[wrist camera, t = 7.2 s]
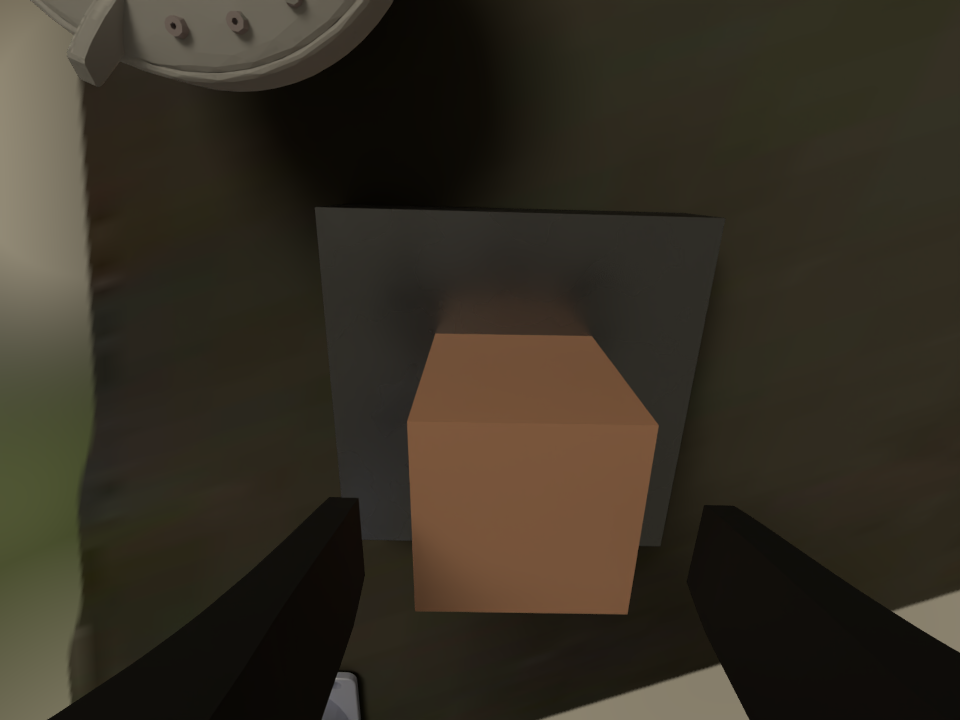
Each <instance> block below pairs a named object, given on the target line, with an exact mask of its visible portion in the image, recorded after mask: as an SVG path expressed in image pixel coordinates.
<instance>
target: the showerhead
mask: <svg viewBox="0 0 960 720" xmlns="http://www.w3.org/2000/svg"><path fill="white" fill-rule="evenodd" d="M31 1H32V2H33V3H34V4H35V5H37V6H38V7H39V8H40V9H41V10H42V11H43V12H45V13H46V14H47V15H48V16H49V17H51V18H52V19H53V20H54V21H56V22H57V23H58V24H60V25H61V26H62V27H64V28H65V29H67V30H68V31H69V32H71V33H72V34H73V35H74V36H73V38H72V41H71V43H70V46H69V49H68V51H67V57H68V59H69V60H70V62H71V64H72V66H73V68H74V69H75V71H76V73H77V75H78V77H79V78H80V79H82V80H84V81H86V82H88V83H90V84H92V85H95V86H97V87H101V86H102V85H103V83H104V82H105V81H106V80H107V78H108V77H109V76H110V74H111V73H112V72H113V70H114V69H115V67H116V66H117V65H118V63H119V62H120V61H121V62H123V63H126V64H128V65H131V66H133V67H136V68H138V69H141V70H143V71H147V72H150V73H154V74H157V75H160V76H164V77H167V78H171V79H174V80H177V81H181V82H185V83H189V84H193V85H197V86H201V87H206V88H210V89H215V90H222V91H235V92H245V91H261V90H268V89H274V88H279V87H283V86H286V85H290V84H294V83H297V82H299V81H302V80H304V79H307V78H309V77H312V76H314V75H316V74H317V73H319V72H321V71H323V70H324V69H326V68H328V67H330V66H331V65H333V64H334V63H336V62H337V61H339V60H340V59H342V58H343V57H344V56H346V55H347V54H348V53H349V52H351V51H352V50H353V49H354V48H355V47H356V46H357V45H358V44H360V43H361V42H362V41H363V40H364V39H365V38H366V36H367V35H368V34H369V33H370V32H371V31H372V30H373V29H374V28H375V26H376V25H377V24H378V23H379V21H380V20H381V19H382V17H383V16H384V14H385V13H386V12H387V10H388V9H389V8H390V6H391V4H392V2H393V1H394V0H31Z"/></svg>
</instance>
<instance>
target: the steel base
mask: <svg viewBox="0 0 960 720" xmlns="http://www.w3.org/2000/svg"><path fill="white" fill-rule="evenodd" d="M315 216H316V226H317V237H318V248H319V259H320V270H321V281H322V291H323V302H324V313H325V324H326V335H327V345H328V356H329V367H330V378H331V389H332V400H333V410H334V421H335V432H336V443H337V454H338V465H339V475H340V486H341V497H343V498H359V509H360V521H361V534H362V540H405V541H412V524H411V501H410V478H409V455H408V431H407V420H408V417H409V414H410V411H411V408H412V405H413V402H414V398H415V395H416V392H417V389H418V386H419V383H420V380H421V377H422V374H423V371H424V367H425V364H426V361H427V358H428V355H429V352H430V349H431V346H432V343H433V340H434V336H435V334H496V335H558V336H592V337H593V338H594V340H595V341H596V342H597V344H598V345H599V346H600V348H601V349H602V350H603V352H604V353H605V354H606V356H607V357H608V358H609V360H610V361H611V362H612V364H613V365H614V366H615V368H616V369H617V370H618V372H619V373H620V374H621V376H622V377H623V378H624V380H625V381H626V382H627V384H628V385H629V386H630V388H631V389H632V390H633V392H634V393H635V394H636V396H637V397H638V398H639V400H640V401H641V402H642V404H643V405H644V406H645V408H646V409H647V410H648V412H649V413H650V414H651V416H652V417H653V418H654V420H655V421H656V422H657V424H658V425H659V427H658V433H657V439H656V445H655V451H654V457H653V463H652V469H651V475H650V481H649V487H648V493H647V499H646V506H645V512H644V518H643V524H642V530H641V536H640V542H639V546H661V541H662V536H663V531H664V526H665V520H666V515H667V510H668V505H669V500H670V495H671V490H672V485H673V480H674V475H675V470H676V465H677V460H678V455H679V450H680V445H681V440H682V435H683V430H684V425H685V419H686V414H687V409H688V404H689V399H690V394H691V389H692V384H693V379H694V374H695V369H696V364H697V359H698V354H699V349H700V344H701V339H702V334H703V329H704V324H705V318H706V313H707V308H708V303H709V298H710V293H711V288H712V283H713V278H714V273H715V268H716V263H717V258H718V253H719V248H720V243H721V238H722V233H723V228H724V223H725V218H721V217H712V216H704V215H695V214H687V213H661V212H623V211H586V210H548V209H510V208H473V207H435V206H397V205H360V204H339V205H330V206H321V207H315Z"/></svg>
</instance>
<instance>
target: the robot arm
mask: <svg viewBox="0 0 960 720" xmlns="http://www.w3.org/2000/svg"><path fill="white" fill-rule="evenodd" d="M364 576H365V572H364V559H363V546H362V534H361V521H360V509H359V498H343V497H329V498H328V499H327V500H326V501H325V502H324V503H323V504H321V505H320V506H319V507H318V508H317V509H316V510H315V511H314V512H313V513H312V514H311V515H310V516H309V517H308V518H307V519H306V520H305V521H304V522H303V523H302V524H301V525H299V526H298V527H297V528H296V529H295V530H294V531H293V532H292V533H291V534H290V535H289V536H288V537H287V538H286V539H285V540H284V541H283V542H282V543H281V544H280V545H278V546H277V547H276V548H275V549H274V550H273V551H272V552H271V553H270V554H269V555H268V556H266V557H265V558H264V559H263V560H262V561H261V562H260V563H259V564H258V565H257V566H256V567H254V568H253V569H252V570H251V571H250V572H249V573H248V574H247V575H246V576H244V577H243V578H242V579H241V580H240V581H239V582H237V583H236V584H235V585H234V586H233V587H231V588H230V589H229V590H228V591H227V592H226V593H224V594H223V595H222V596H221V597H220V598H218V599H217V600H216V601H215V602H214V603H212V604H211V605H210V606H209V607H208V608H207V609H205V610H204V611H203V612H202V613H200V614H199V615H198V616H197V617H195V618H194V619H193V620H191V621H190V622H189V623H187V624H186V625H185V626H184V627H182V628H181V629H180V630H178V631H177V632H176V633H174V634H173V635H172V636H170V637H169V638H168V639H166V640H165V641H163V642H162V643H161V644H159V645H158V646H157V647H155V648H154V649H152V650H151V651H150V652H148V653H147V654H146V655H144V656H143V657H141V658H140V659H139V660H137V661H136V662H134V663H133V664H131V665H130V666H129V667H127V668H126V669H124V670H123V671H121V672H120V673H118V674H116V675H115V676H113V677H112V678H110V679H109V680H107V681H106V682H104V683H103V684H101V685H100V686H98V687H97V688H95V689H94V690H92V691H91V692H89V693H88V694H86V695H85V696H83V697H82V698H80V699H79V700H77V701H76V702H74V703H72V704H71V705H69V706H68V707H67V708H65V709H63V710H62V711H60V712H59V713H57V714H56V715H54V716H53V717H51V718H49V719H48V720H361V715H360V704H359V694H358V683H357V678H356V676H355V675H354V674H352V673H349V672H338V670H339V668H340V665H341V662H342V659H343V656H344V653H345V650H346V647H347V644H348V641H349V638H350V635H351V632H352V629H353V626H354V622H355V617H356V613H357V609H358V604H359V600H360V595H361V590H362V586H363V581H364ZM687 583H688V586H689V589H690V592H691V595H692V598H693V601H694V603H695V606H696V609H697V612H698V614H699V617H700V620H701V622H702V625H703V627H704V630H705V632H706V634H707V637H708V639H709V641H710V643H711V645H712V647H713V649H714V651H715V653H716V655H717V657H718V659H719V661H720V663H721V665H722V667H723V668H724V670H725V673H726V675H727V676H728V678H729V680H730V682H731V684H732V686H733V688H734V690H735V692H736V694H737V696H738V698H739V700H740V702H741V704H742V706H743V708H744V710H745V712H746V714H747V716H748V717H749V720H960V653H959V652H958V651H956V650H954V649H952V648H950V647H949V646H947V645H946V644H944V643H942V642H940V641H939V640H937V639H935V638H934V637H932V636H930V635H929V634H927V633H925V632H924V631H922V630H920V629H919V628H917V627H916V626H914V625H913V624H911V623H909V622H908V621H906V620H905V619H903V618H901V617H900V616H898V615H897V614H895V613H893V612H892V611H890V610H889V609H887V608H886V607H884V606H882V605H881V604H879V603H878V602H876V601H874V600H873V599H871V598H870V597H868V596H867V595H865V594H864V593H862V592H861V591H859V590H858V589H856V588H855V587H853V586H852V585H850V584H849V583H847V582H846V581H844V580H843V579H841V578H840V577H838V576H837V575H835V574H834V573H832V572H831V571H829V570H828V569H826V568H825V567H823V566H822V565H821V564H819V563H818V562H816V561H815V560H813V559H812V558H810V557H809V556H807V555H806V554H805V553H803V552H802V551H800V550H799V549H797V548H796V547H794V546H793V545H792V544H790V543H789V542H787V541H786V540H784V539H783V538H781V537H780V536H779V535H777V534H776V533H774V532H773V531H771V530H770V529H768V528H767V527H766V526H764V525H763V524H761V523H760V522H758V521H757V520H755V519H754V518H752V517H751V516H749V515H748V514H746V513H744V512H743V511H741V510H739V509H738V508H736V507H735V506H716V505H704V508H703V513H702V517H701V522H700V526H699V531H698V535H697V539H696V544H695V548H694V553H693V557H692V561H691V566H690V570H689V575H688V579H687Z"/></svg>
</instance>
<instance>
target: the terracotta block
mask: <svg viewBox="0 0 960 720" xmlns="http://www.w3.org/2000/svg"><path fill="white" fill-rule="evenodd" d="M658 427H659V425H658V424H657V422H656V421H655V420H654V418H653V417H652V416H651V414H650V413H649V412H648V410H647V409H646V408H645V406H644V405H643V404H642V402H641V401H640V400H639V398H638V397H637V396H636V394H635V393H634V392H633V390H632V389H631V388H630V386H629V385H628V384H627V382H626V381H625V380H624V378H623V377H622V376H621V374H620V373H619V372H618V370H617V369H616V368H615V366H614V365H613V364H612V362H611V361H610V360H609V358H608V357H607V356H606V354H605V353H604V352H603V350H602V349H601V348H600V346H599V345H598V344H597V342H596V341H595V340H594V338H593V337H592V336H558V335H496V334H435V336H434V340H433V343H432V346H431V349H430V352H429V355H428V358H427V361H426V364H425V367H424V371H423V374H422V377H421V380H420V383H419V386H418V389H417V392H416V395H415V398H414V402H413V405H412V408H411V411H410V414H409V417H408V420H407V431H408V455H409V478H410V501H411V524H412V548H413V571H414V594H415V611H438V612H504V613H571V614H628V608H629V602H630V596H631V590H632V584H633V578H634V572H635V566H636V560H637V554H638V548H639V542H640V536H641V530H642V524H643V518H644V512H645V506H646V499H647V493H648V487H649V481H650V475H651V469H652V463H653V457H654V451H655V445H656V439H657V433H658Z"/></svg>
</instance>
